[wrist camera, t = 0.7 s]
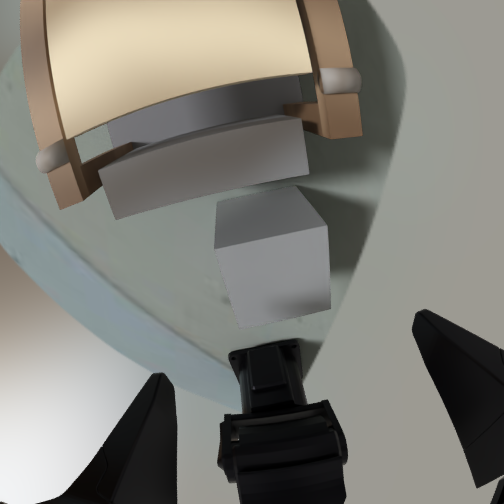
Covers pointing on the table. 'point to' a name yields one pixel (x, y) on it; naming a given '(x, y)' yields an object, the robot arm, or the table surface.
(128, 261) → the table surface
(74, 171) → the frame
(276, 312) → the light grey block
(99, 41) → the trapdoor
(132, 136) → the mat
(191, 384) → the table surface
